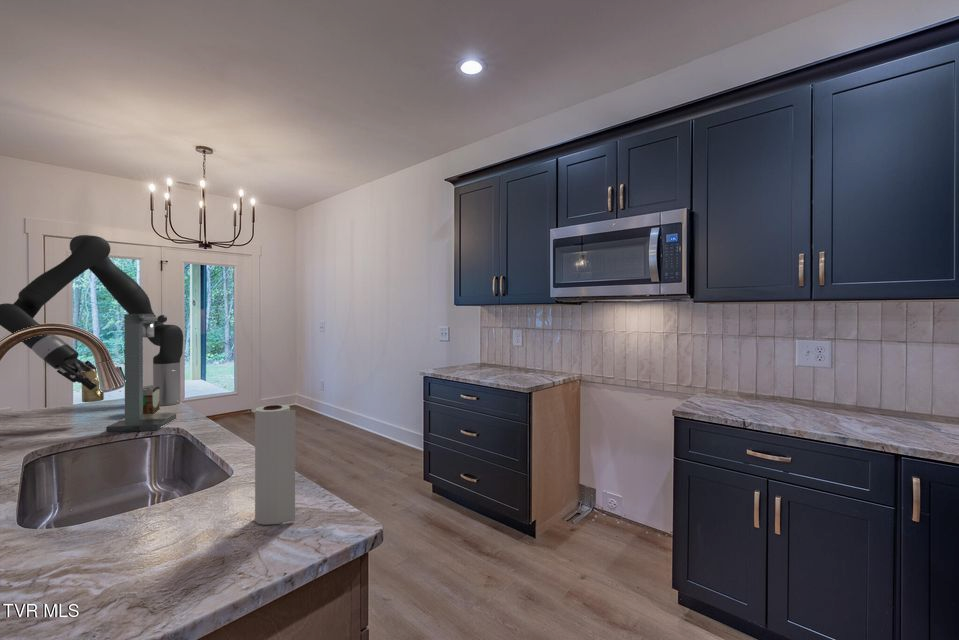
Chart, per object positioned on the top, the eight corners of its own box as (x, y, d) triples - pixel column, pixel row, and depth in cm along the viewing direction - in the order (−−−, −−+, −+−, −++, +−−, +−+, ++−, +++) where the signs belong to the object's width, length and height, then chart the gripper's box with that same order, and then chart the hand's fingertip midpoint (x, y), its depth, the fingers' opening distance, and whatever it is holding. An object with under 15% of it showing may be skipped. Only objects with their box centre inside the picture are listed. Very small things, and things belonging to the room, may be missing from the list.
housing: (88, 399, 148) (87, 368, 147) (107, 398, 149) (106, 367, 149) (78, 402, 142) (77, 370, 142) (98, 401, 144) (97, 370, 143)
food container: (141, 411, 168) (141, 385, 168) (160, 409, 170) (160, 384, 170) (131, 418, 157) (131, 390, 156) (152, 416, 159) (152, 389, 159)
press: (130, 421, 152) (129, 313, 151) (183, 418, 156) (183, 314, 156) (106, 433, 137) (105, 314, 137) (165, 429, 142) (165, 314, 141)
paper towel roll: (252, 516, 83) (252, 405, 83) (285, 508, 87) (285, 402, 86) (259, 531, 77) (259, 413, 77) (295, 522, 81) (295, 408, 81)
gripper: (50, 345, 136) (96, 381, 140) (78, 341, 150) (119, 375, 154) (29, 362, 135) (76, 398, 138) (60, 357, 149) (102, 390, 152)
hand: (99, 386), depth 146 cm, fingers closed on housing, 5 cm apart
